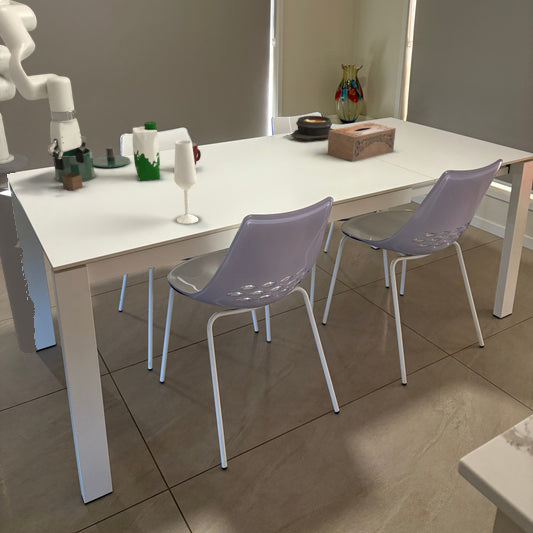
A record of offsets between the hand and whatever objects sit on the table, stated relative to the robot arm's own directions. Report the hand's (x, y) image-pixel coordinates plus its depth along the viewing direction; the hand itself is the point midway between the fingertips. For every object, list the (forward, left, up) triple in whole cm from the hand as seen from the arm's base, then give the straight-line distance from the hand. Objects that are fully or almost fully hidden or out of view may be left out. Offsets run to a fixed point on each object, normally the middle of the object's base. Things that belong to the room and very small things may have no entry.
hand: (70, 165), depth 203 cm
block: (0, 0, -8) cm, 8 cm away
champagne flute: (+52, -7, -8) cm, 53 cm away
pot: (-8, +10, -8) cm, 15 cm away
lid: (-8, +30, -7) cm, 32 cm away
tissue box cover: (+75, +93, -8) cm, 120 cm away
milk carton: (+16, +22, -8) cm, 28 cm away
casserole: (+46, +110, -8) cm, 119 cm away
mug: (+24, +38, -8) cm, 46 cm away
